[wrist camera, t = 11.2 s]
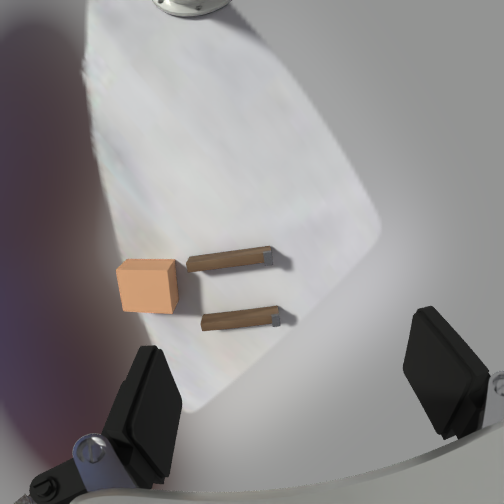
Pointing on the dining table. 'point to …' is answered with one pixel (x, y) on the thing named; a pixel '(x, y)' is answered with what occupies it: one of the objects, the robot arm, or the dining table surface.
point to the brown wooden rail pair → (242, 316)
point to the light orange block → (148, 285)
